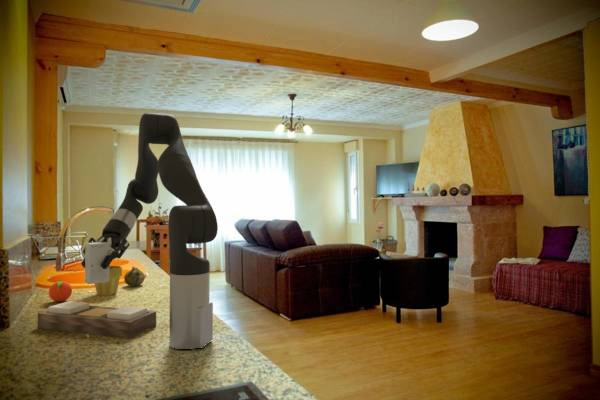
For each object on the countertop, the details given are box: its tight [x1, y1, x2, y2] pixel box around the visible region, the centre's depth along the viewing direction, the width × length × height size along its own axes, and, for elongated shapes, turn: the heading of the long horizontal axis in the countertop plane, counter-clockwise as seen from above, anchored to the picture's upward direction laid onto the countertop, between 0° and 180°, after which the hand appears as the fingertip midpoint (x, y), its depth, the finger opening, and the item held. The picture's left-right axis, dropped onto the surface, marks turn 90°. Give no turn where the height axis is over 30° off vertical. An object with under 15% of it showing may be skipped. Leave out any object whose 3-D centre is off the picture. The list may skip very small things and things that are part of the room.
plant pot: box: [94, 264, 123, 297], centre depth 155 cm, size 10×10×10 cm
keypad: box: [37, 304, 157, 339], centre depth 114 cm, size 29×11×4 cm, turn 74°
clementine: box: [48, 280, 73, 303], centre depth 142 cm, size 8×7×7 cm
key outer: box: [48, 300, 90, 314], centre depth 116 cm, size 7×7×2 cm
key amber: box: [77, 308, 114, 317], centre depth 114 cm, size 7×7×2 cm
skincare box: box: [84, 242, 110, 285], centre depth 129 cm, size 6×4×12 cm
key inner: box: [107, 305, 148, 320], centre depth 111 cm, size 7×7×2 cm
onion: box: [123, 266, 146, 287], centre depth 170 cm, size 8×8×8 cm
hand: (93, 266), depth 127 cm, fingers closed on skincare box, 6 cm apart
